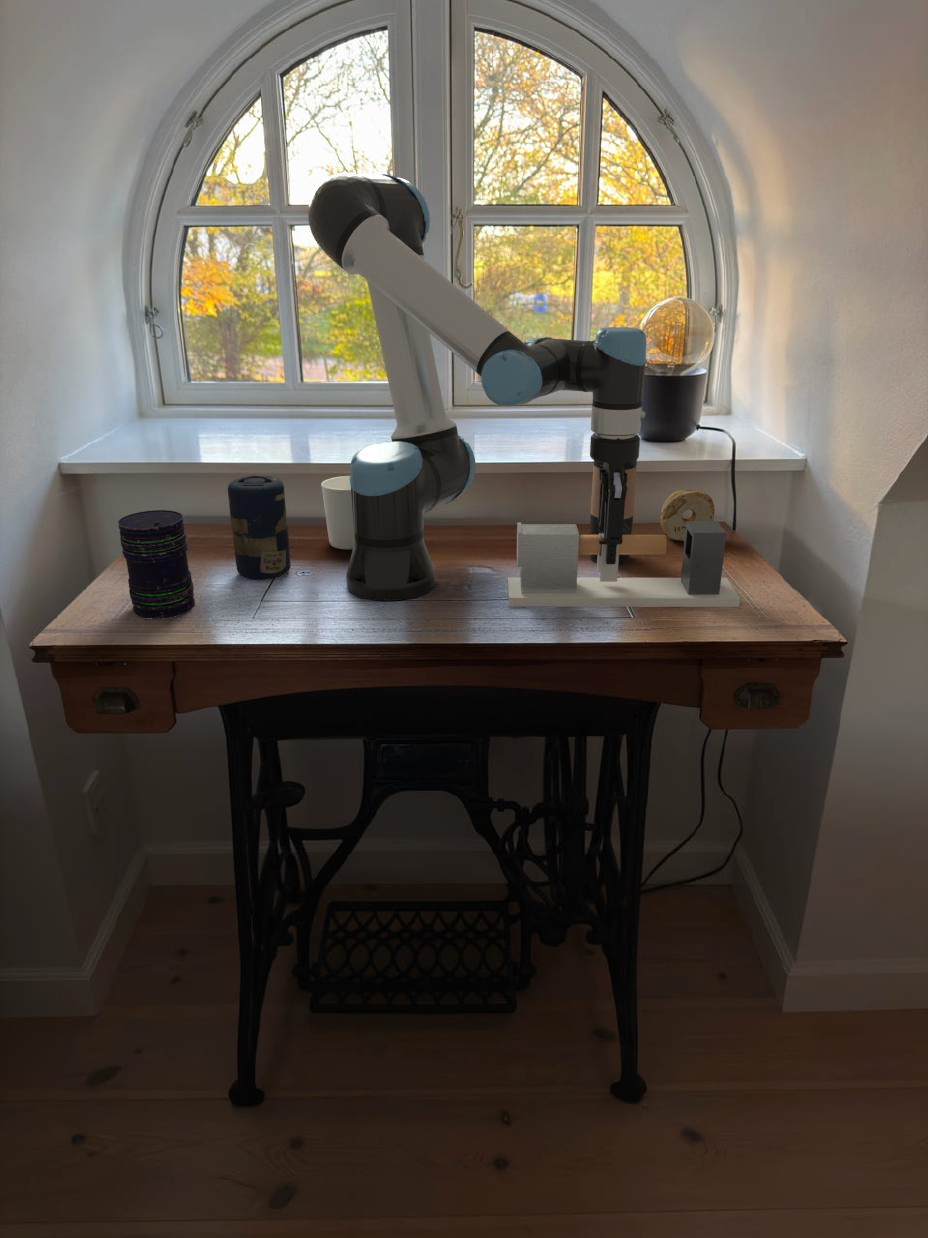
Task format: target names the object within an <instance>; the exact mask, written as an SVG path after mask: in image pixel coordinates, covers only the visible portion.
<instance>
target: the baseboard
mask: <svg viewBox="0 0 928 1238" xmlns="http://www.w3.org/2000/svg"><path fill="white" fill-rule="evenodd" d="M507 595H508V596H507V597H508V600H507V602H508V607H511V608H512V607H513V608H514V607H525V608H526V607H527V608H529V607H531V608H534V607H538V608H539V607H550V608H551V607H554V608H556V607H562V608H563V607H564V608H565V607H569V608H570V607H572V608H573V607H575V608H576V607H577V608H579V607H582V608H583V607H584V608H585V607H589V608H590V607H592V608H599V607H600V608H601V607H602V608H603V607H605V608H607V607H610V608H611V607H612V608H614V607H615V608H619V607H621V608H622V607H623V608H625V607H626V608H627V607H628V608H630V607H631V608H633V607H635V608H638V607H639V608H641V607H644V608H646V607H647V608H649V607H651V608H654V607H655V608H657V607H658V608H659V607H660V608H667V607H668V608H673V607H675V608H676V607H677V608H682V607H683V608H740V604H741V597H740V596H739V594H738V593H737V592H736V589H735V588H734V587H733V585H732V584H731V582H730V580H728V578H727V577H721V584H720V592H719V595H688V594H687V592H686V590H685V588H684V586H683V584H682V582H681V577H617V582H600V577H577V590H576V594H534V593H521V589H520V577H507Z"/></svg>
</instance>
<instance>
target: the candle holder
mask: <svg viewBox="0 0 928 1238" xmlns="http://www.w3.org/2000/svg"><path fill="white" fill-rule="evenodd" d="M320 485H321V491H322V497H323V505H324V514H325V520H326V529H327V534H328V541H329V544H330V546H331V547H333V548H334V549H340V550H353V547H354V543H355V540H354V524H353V510H352V495H351V486H350V475H343V476H342V475H341V476H336V477H330V478H328V479H325V480H323V481H322V482H321V483H320Z"/></svg>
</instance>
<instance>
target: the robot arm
mask: <svg viewBox="0 0 928 1238" xmlns="http://www.w3.org/2000/svg"><path fill="white" fill-rule="evenodd" d="M307 211H308V212H307V216H308V218H307V220H308V224H309V228H310V232H311V234H312V237H313V239H314V240H315V242H316V244H317V245H318V246H319V247H320V248H321V249H320V250H322V251H323V253H324V254H325V255H327V256H328V258H330V259H331V260H332V261H333V262H334V263H335V264H336V265H337V266H339V267H340V268H341V269H343V271H345V272H346V274H348V275H353V276H354V275H359V276H361V277H362V278H363V279H365V281H366V282H367V287H368V291H369V292H368V293H369V297H370V300H371V301H370V302H371V306H372V311H373V312H372V313H373V315H374V321H375V325H376V330H377V336H378V341H379V344H380V349H381V353H382V358H383V359H382V360H383V362H384V363H383V365H384V369H385V374H386V378H387V382H388V388H389V393H390V397H391V401H392V408H393V411H394V415H395V421H396V427H395V429H394V430H393V432H392V434H391V435H390V439H391V441H385V442H382V443H375V444H371V445H369V446H366V447H363V448H361V449H360V450H358V451H357V452H355V454H354V455H353V456H352V457H351V458H352V459H351V460H350V475H349V476H350V486H351V495H352V510H353V524H354V540H355V543H354V547H353V549H352V552H351V555H350V559H349V563H348V567H347V569H346V570H347V571H346V575H345V577H346V578H345V579H346V588H347V590H348V591H349V592H350V593H351V594H353V595H354V596H357V597H359V598H363V599H367V600H373V601H399V600H407V599H408V600H409V599H412V598H417V597H419V596H422V595H424V594H426V593H429V592H430V591H431V590H432V589H433V588H434V586H435V585H436V573H435V572H436V571H435V567H434V565H433V562H432V560H431V556H430V554H429V551H428V548H427V546H426V543H425V539H424V537H425V536H424V514H426V513H428V512H430V511H432V510H434V509H437V508H438V507H439V508H440V506H443V505H447V504H450V503H451V502H454V501H455V500H456V499H458V498H459V497H460V496H461V495H463V494H465V492H466V491H468V489H469V488H470V487H471V484H472V483H473V480H474V478H475V474H476V458H475V454H474V452H473V449H472V447H471V446H470V444H469V442H466V441H465V438H463V437H462V435H461V436H460V435H459V432H458V426H457V423H456V422H455V421H454V420H452V419H451V418H449V417H448V416H447V414H446V411H445V410H446V409H445V406H444V401H443V396H442V391H441V390H442V389H441V386H440V379H439V375H438V370H437V364H436V359H435V354H434V349H433V348H434V347H433V344H432V338H431V336H432V337H434V338H435V339H436V340H437V341H439V343H441V344H442V345H443V346H444V347H446V349H448V350H449V351H450V352H452V353H453V354H454V356H456V357H457V358H459V359H460V360H461V361H462V362H463V363H464V364H466V365H467V366H468V367H469V368H470V369H471V370H473V371H474V372H475V373H476V374H477V375H479V377H481V378H480V381H481V382H480V383H481V387H482V388H483V391H484V393H485V395H486V397H487V398H488V399H489V400H490V401H491V402H493V403H494V404H495V405H498V406H501V407H515V406H521V405H525V404H528V403H529V402H532V401H533V400H535V399H538V398H540V397H545V396H547V395H550V394H554V393H556V392H559V391H571V392H573V391H574V392H583V393H592V404H591V416H590V430H591V432H593V433H592V435H591V436H590V444H589V446H590V449H589V457H590V459H591V460H593V461H594V460H595V461H598V462H601V463H603V462H604V464H603V465H600V468H599V478H600V486H599V512H598V520H597V523H598V525H599V532H602V533H604V539H603V540H599V544H602V551H601V556H599V555H598V559H597V563H596V572H597V573H600V574H599V578H600V582H617V578H618V574H619V565H618V561H619V546H620V544H622V542H623V539H622V535H623V522H624V509H625V498H626V491H627V485H626V484H627V473H625V469H624V467H623V466H624V464H626V463H628V462H629V463H631V462H634V461H636V460H637V461H638V459H639V457H640V442H641V437H640V436H639V435H638V434H639V433H640V431H641V427H642V426H641V425H642V421H641V419H643V418H645V417H646V412H645V411H643V398H644V387H645V377H646V376H645V375H646V366H647V363H648V362H647V335H646V333H645V332H644V330H642V329H640V328H636V327H627V326H626V327H625V326H621V327H619V326H618V327H617V326H611V327H607V326H606V327H602V328H600V329H598V330H596V332H595V338H594V340H577V339H564V338H552V337H549V336H546V337H531V338H528V339H526V340H525V341H522V340H521V339H520V338H518V337H517V336H516V335H515V334H513V332H511V331H510V330H509V329H508V328H507V327H505V326H504V325H503V324H502V323H501V322H499V321H498V320H497V319H496V318H495V317H494V316H492V315H491V314H490V313H488V312H487V311H486V310H485V309H483V308H482V306H480V305H479V304H477V303H476V302H475V301H474V300H473V299H472V298H470V297H469V296H468V295H467V294H466V293H464V292H463V291H462V289H460V288H459V287H457V286H456V285H455V284H454V283H452V282H451V280H449V279H448V278H446V277H445V276H444V275H443V274H442V273H441V272H439V271H438V270H437V269H436V268H435V267H433V266H432V265H431V264H430V263H428V262H427V261H426V260H425V253H424V248H423V244H424V242H425V241H426V238H427V237H426V236H427V234H428V233H429V230H430V222H431V219H430V212H429V206H428V204H427V202H426V199H425V198H424V196H423V194H422V192H421V191H420V190H419V188H418V187H416V185H414V184H412V183H411V182H410V181H408V180H407V179H404V178H401V177H397V176H394V175H391V174H384V173H383V174H363V173H361V174H360V173H352V172H351V173H349V172H339V173H337V174H333V175H330V176H329V177H326V178H325V179H324V180H323V181H321V182H320V183H319V184H318V185H317V186H316V188H315V189H314V191H313V193H312V194H311V197H310V201H309V203H308V210H307Z"/></svg>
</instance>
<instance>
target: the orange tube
mask: <svg viewBox="0 0 928 1238" xmlns="http://www.w3.org/2000/svg"><path fill="white" fill-rule="evenodd" d="M603 539H604V533H599V535H590V534H579V547H578V556H579V555H584V556H585V555H586V556H587V555H588V556H590V555H599V556H601V551H602V544H599V540H603ZM622 539H623V542H622V544H620V546H619V555H629V556H630V555H636V556H637V555H648V556H649V555H651V556H652V555H654V556H655V555H662V556H663V555H666V552H667V543H668V542H667V536H666V534H631V535H622Z"/></svg>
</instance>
